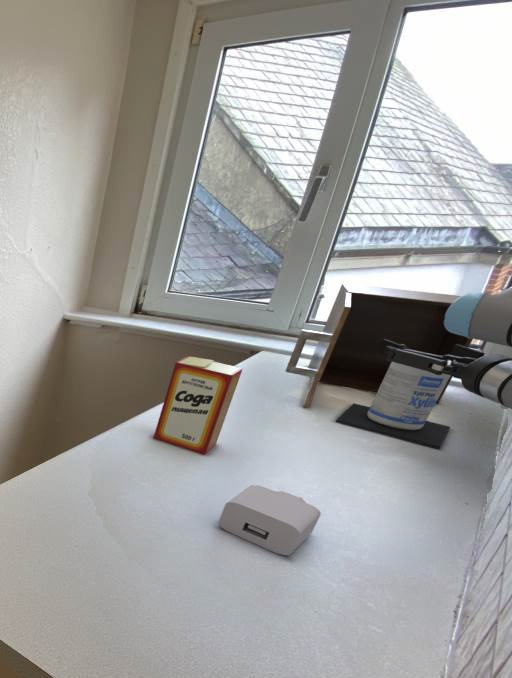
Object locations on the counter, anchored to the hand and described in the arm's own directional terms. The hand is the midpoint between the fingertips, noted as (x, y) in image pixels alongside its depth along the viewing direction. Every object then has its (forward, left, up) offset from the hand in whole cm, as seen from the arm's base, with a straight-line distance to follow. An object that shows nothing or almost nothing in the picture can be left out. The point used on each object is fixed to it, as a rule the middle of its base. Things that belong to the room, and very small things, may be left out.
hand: (417, 348), depth 116 cm
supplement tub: (-3, 0, -16) cm, 16 cm away
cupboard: (+30, -14, -17) cm, 37 cm away
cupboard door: (+16, +10, -16) cm, 25 cm away
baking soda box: (-25, +50, -17) cm, 59 cm away
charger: (-54, +47, -17) cm, 74 cm away
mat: (-3, 0, -17) cm, 17 cm away
